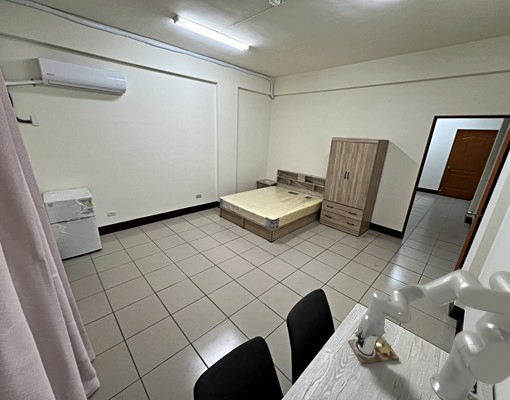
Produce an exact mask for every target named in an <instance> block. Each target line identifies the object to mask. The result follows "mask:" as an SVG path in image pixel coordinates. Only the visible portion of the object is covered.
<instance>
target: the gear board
mask: <svg viewBox="0 0 510 400" xmlns="http://www.w3.org/2000/svg"><path fill="white" fill-rule="evenodd" d="M382 338H383V339H385V337H384V336H381V337H380V338H379V339H382ZM356 339H357V338H356ZM356 339H355V338H354V339H348V345H349V347H350V348H351V350H352V352H353V353H354V355H355V357H356V359H357V360H358V362H359V364H360V365H367V364H369V365H370V364H376V363H383V362H384V363H385V362H391V361H399V359H400V357H399V356H398V355H397V353H396V352H395V351H394V349H393V347H391V349H392V350H393V353H392V354H391V353H390V356H389V357H387V356H386V355H384V354H382V355H381V354H379V353H380V352H379V351H378V350H375V353H376V355H375V357H374V358H373V359H371V360H367V359H364V358H362V357H361V356H359V355H358V354H357V353H356V351H355V349H354V344H353V343H354V341H355V340H356ZM385 341H386V342H387V343H388V344H389V342H388V341H387V340H386V339H385ZM356 347H357V349H358V351H359V352H360V353H362V354H363V355H365V356H372V355H373V351H372V353H371V354H370V355H367V354H364V353H363V352H361V351H360V349H359V347H358V342H357V343H356Z"/></svg>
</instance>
